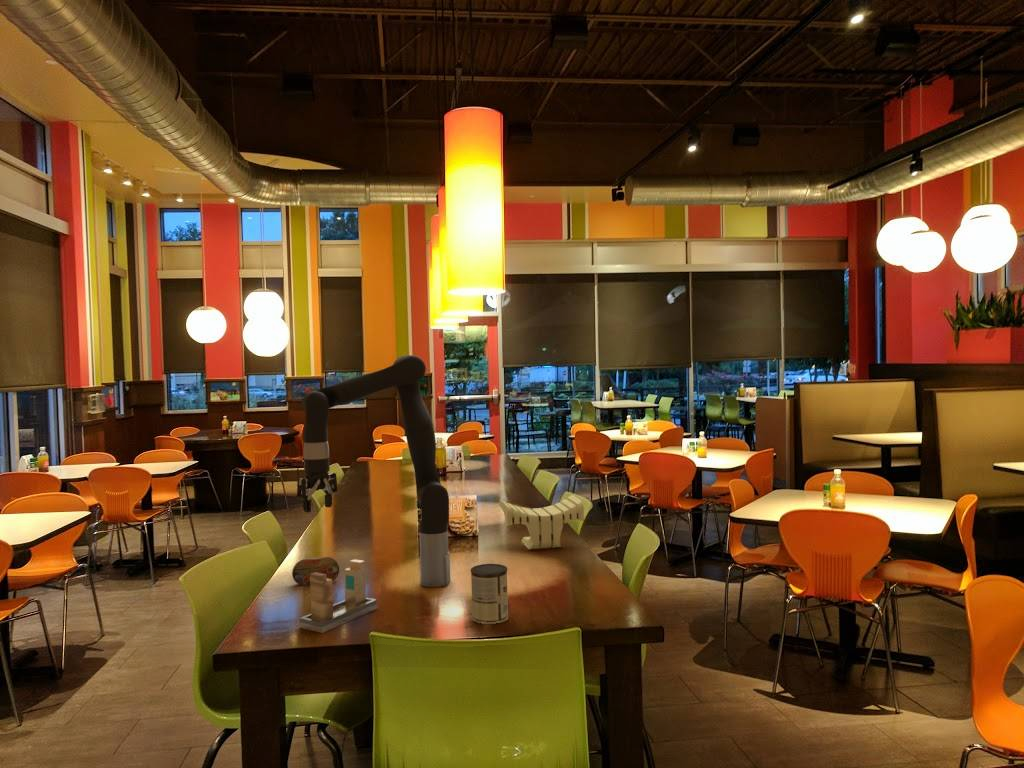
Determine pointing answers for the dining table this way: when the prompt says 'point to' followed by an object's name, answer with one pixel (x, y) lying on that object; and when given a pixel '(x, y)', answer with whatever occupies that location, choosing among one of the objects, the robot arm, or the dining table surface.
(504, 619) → the coffee can
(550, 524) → the slatted curved stool
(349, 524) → the dining table surface
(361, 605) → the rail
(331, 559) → the tin
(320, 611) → the maple finger
